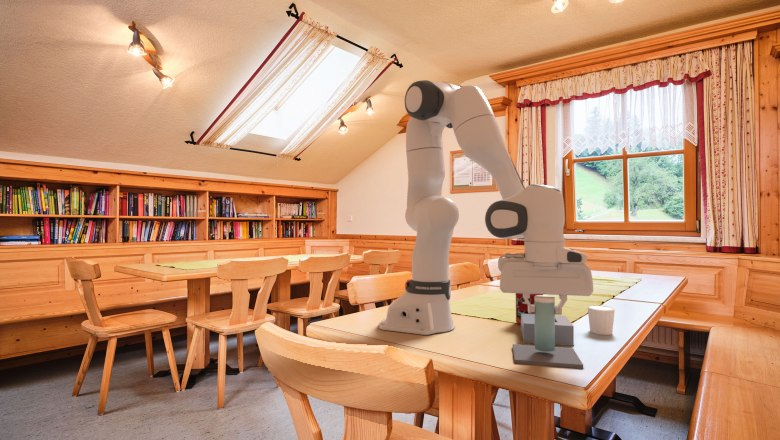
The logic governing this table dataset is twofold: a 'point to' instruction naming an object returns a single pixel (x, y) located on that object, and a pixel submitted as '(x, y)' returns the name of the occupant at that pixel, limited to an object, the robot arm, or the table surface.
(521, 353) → the mat
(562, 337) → the block
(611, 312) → the white cup
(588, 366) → the table surface
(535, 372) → the table surface
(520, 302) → the canned food
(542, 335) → the cylinder
